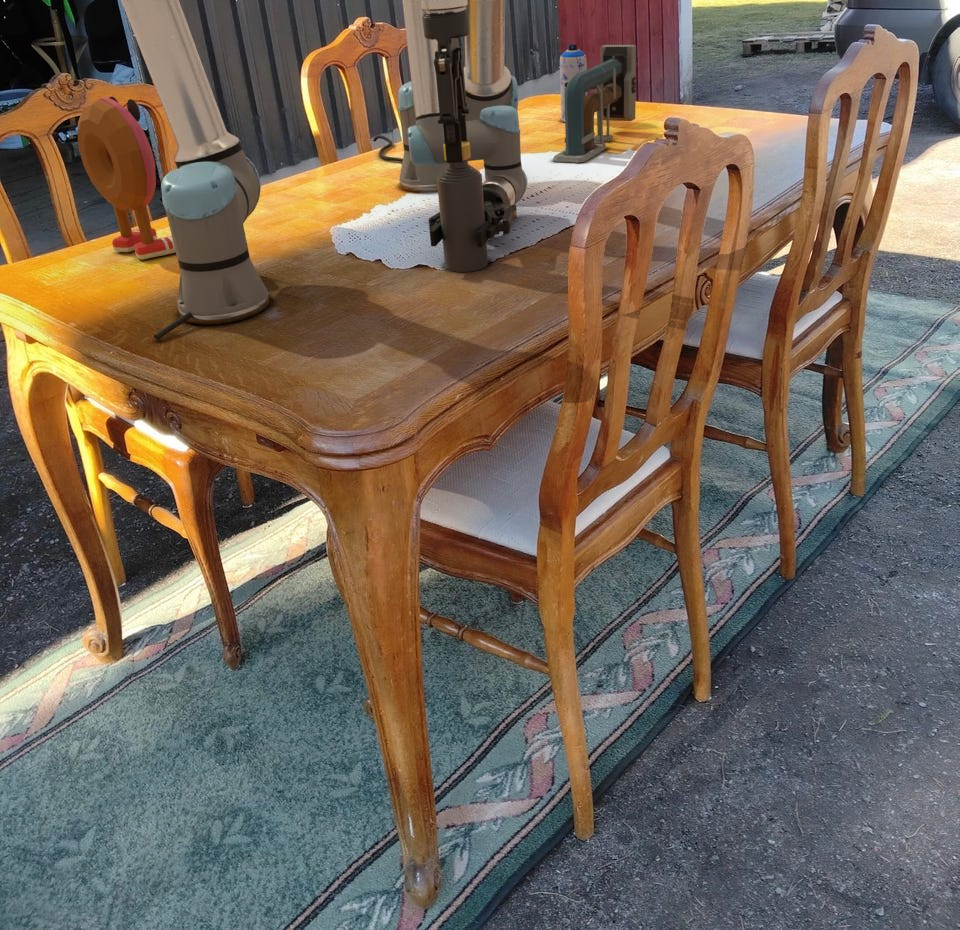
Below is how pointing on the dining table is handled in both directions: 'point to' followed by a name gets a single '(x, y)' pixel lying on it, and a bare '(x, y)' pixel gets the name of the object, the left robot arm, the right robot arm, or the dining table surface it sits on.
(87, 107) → the toy
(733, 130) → the dining table surface
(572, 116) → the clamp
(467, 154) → the cap
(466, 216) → the bottle
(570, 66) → the aerosol can
